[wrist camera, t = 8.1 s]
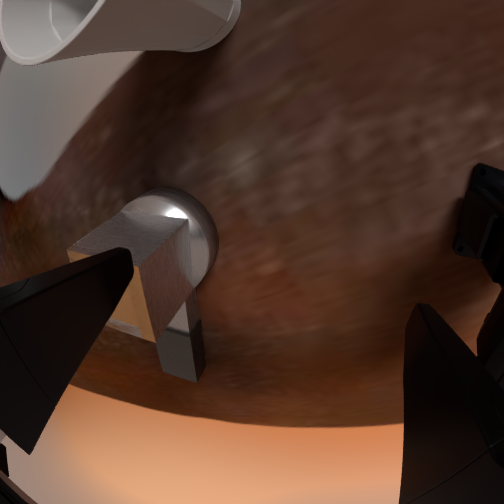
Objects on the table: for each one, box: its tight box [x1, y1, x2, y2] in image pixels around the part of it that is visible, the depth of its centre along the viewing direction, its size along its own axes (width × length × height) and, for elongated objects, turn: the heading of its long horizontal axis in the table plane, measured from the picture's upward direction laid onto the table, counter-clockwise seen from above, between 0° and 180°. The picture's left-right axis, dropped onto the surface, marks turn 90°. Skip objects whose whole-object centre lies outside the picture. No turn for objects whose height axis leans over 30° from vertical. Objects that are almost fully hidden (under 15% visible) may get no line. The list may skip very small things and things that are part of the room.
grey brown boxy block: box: [67, 211, 195, 343], centre depth 19 cm, size 6×6×6 cm
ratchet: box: [120, 187, 219, 383], centre depth 24 cm, size 20×8×6 cm, turn 178°
